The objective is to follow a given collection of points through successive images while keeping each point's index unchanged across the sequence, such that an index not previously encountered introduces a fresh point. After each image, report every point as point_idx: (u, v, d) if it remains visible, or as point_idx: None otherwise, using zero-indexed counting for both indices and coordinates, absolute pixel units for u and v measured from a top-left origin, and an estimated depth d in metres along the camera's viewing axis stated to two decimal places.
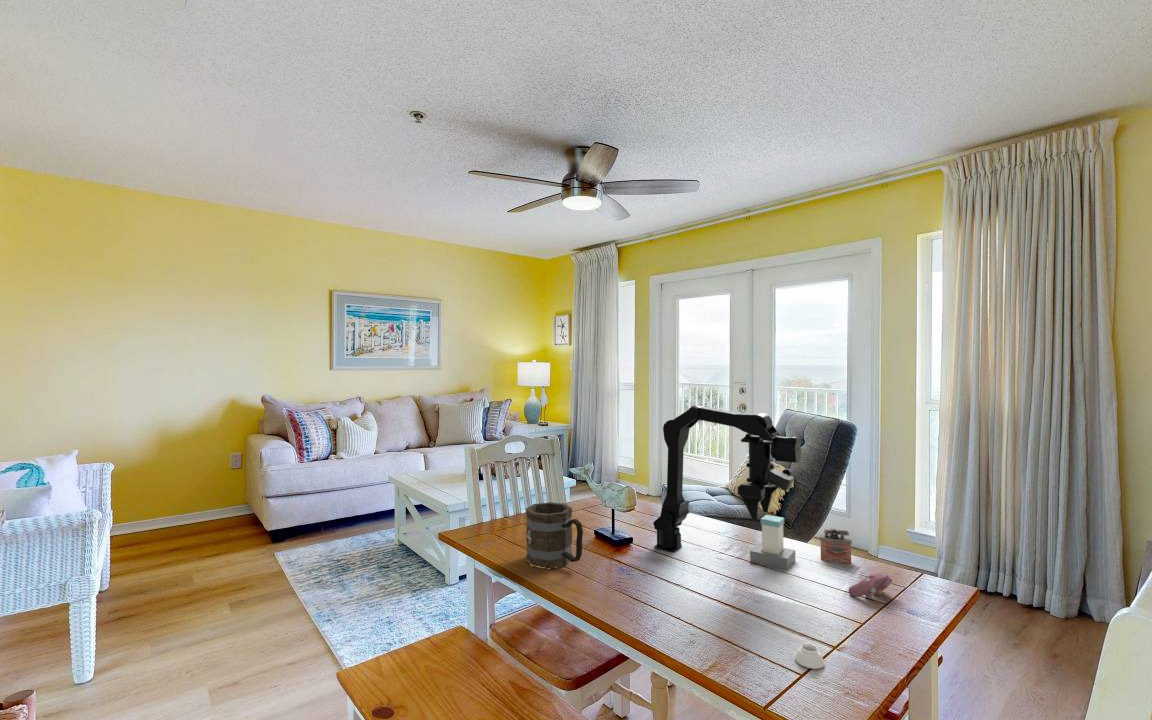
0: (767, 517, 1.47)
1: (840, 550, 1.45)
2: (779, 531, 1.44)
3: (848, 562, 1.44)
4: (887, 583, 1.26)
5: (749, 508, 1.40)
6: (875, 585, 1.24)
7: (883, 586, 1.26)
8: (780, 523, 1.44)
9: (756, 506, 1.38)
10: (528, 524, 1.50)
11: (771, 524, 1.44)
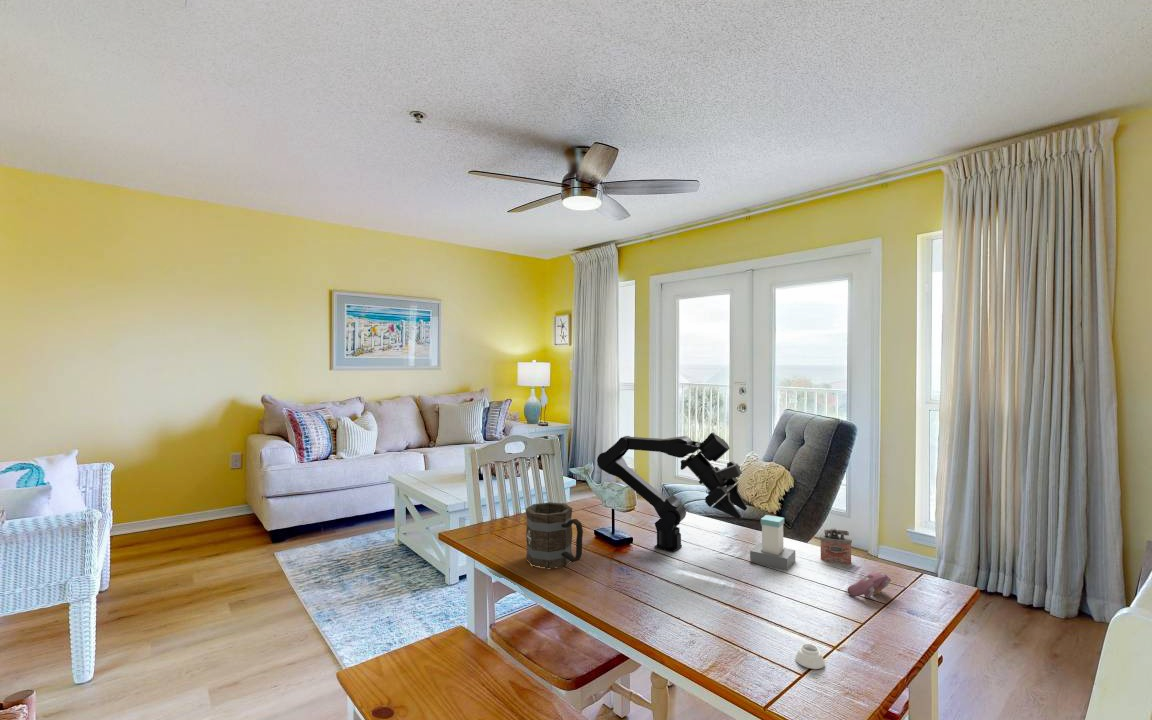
0: (767, 517, 1.47)
1: (840, 550, 1.45)
2: (779, 531, 1.44)
3: (848, 562, 1.44)
4: (886, 582, 1.26)
5: (728, 511, 1.46)
6: (874, 584, 1.24)
7: (882, 585, 1.26)
8: (780, 523, 1.44)
9: (730, 505, 1.46)
10: (528, 524, 1.50)
11: (771, 524, 1.44)
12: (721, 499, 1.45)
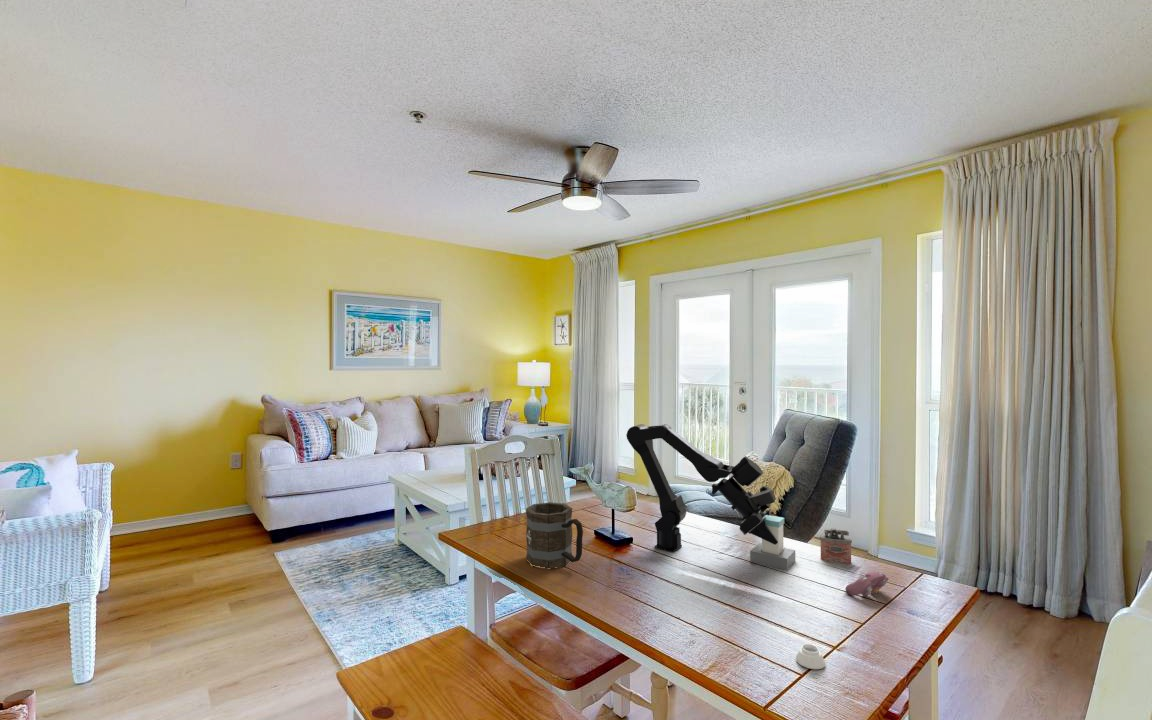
0: (767, 517, 1.47)
1: (840, 550, 1.45)
2: (779, 531, 1.44)
3: (848, 562, 1.44)
4: (883, 582, 1.27)
5: (764, 537, 1.44)
6: (871, 584, 1.25)
7: (880, 584, 1.27)
8: (780, 523, 1.44)
9: (767, 530, 1.43)
10: (528, 524, 1.50)
11: (771, 524, 1.44)
12: (758, 525, 1.42)
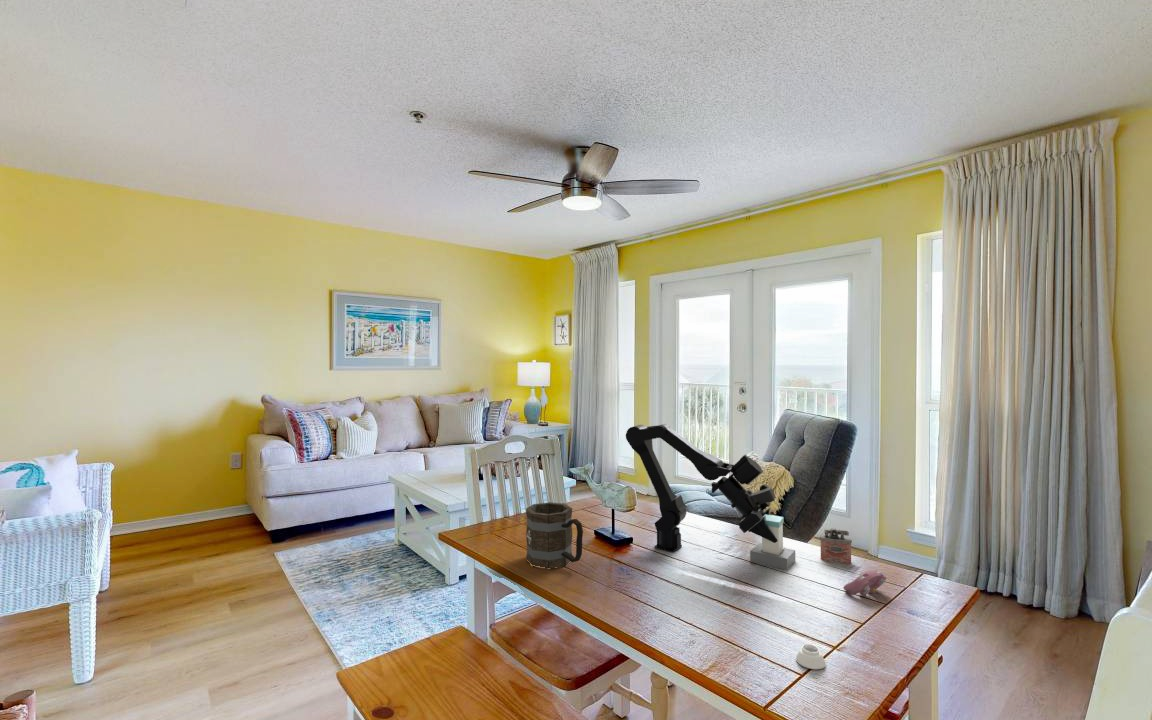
0: (767, 517, 1.47)
1: (840, 550, 1.45)
2: (779, 531, 1.43)
3: (848, 562, 1.44)
4: (881, 581, 1.27)
5: (764, 535, 1.44)
6: (869, 583, 1.25)
7: (877, 584, 1.27)
8: (780, 523, 1.44)
9: (766, 529, 1.43)
10: (528, 524, 1.50)
11: (771, 524, 1.44)
12: (757, 523, 1.42)
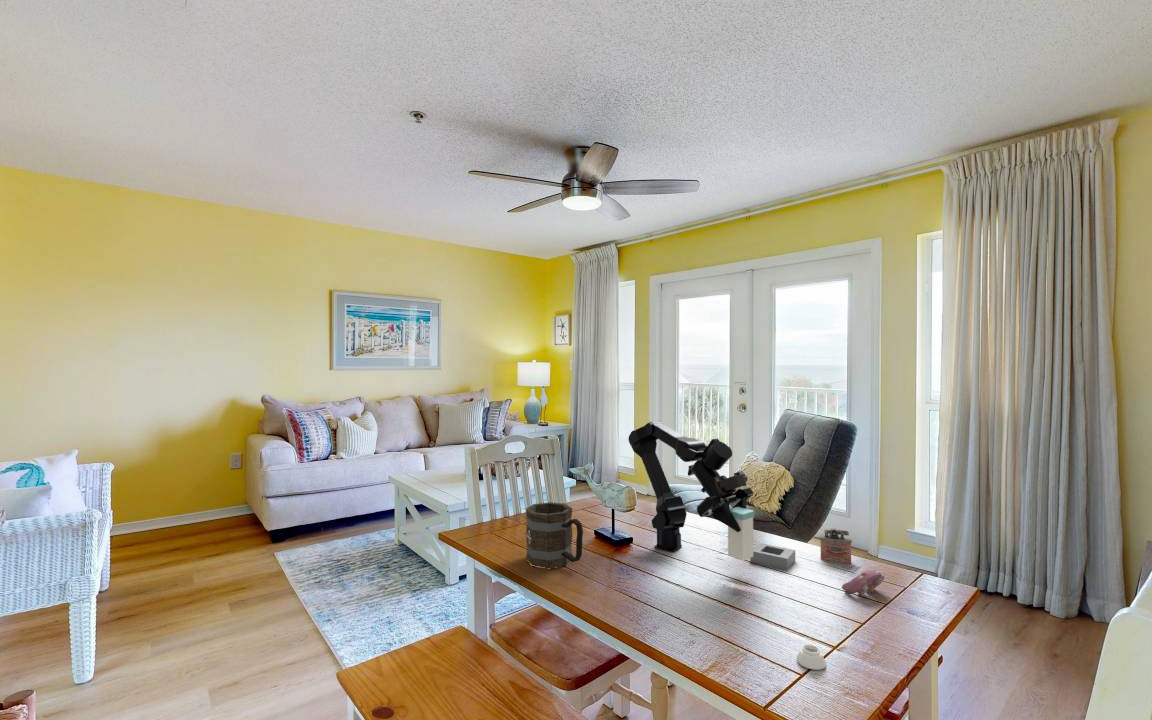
0: (736, 509, 1.38)
1: (840, 550, 1.45)
2: (743, 524, 1.34)
3: (848, 562, 1.44)
4: (879, 580, 1.28)
5: (727, 523, 1.36)
6: (867, 582, 1.25)
7: (875, 583, 1.28)
8: (745, 516, 1.34)
9: (728, 516, 1.35)
10: (528, 524, 1.50)
11: (736, 516, 1.35)
12: (717, 508, 1.36)
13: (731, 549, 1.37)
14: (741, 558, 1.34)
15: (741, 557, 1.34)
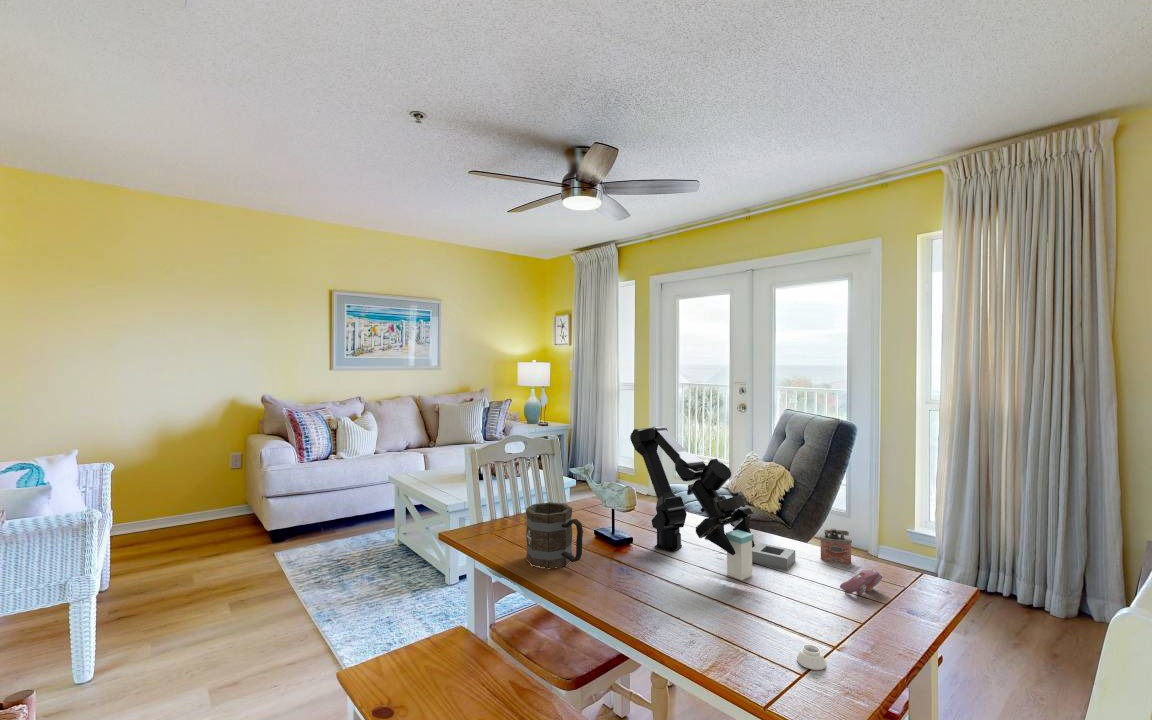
0: (735, 532, 1.38)
1: (840, 550, 1.45)
2: (742, 547, 1.34)
3: (848, 562, 1.44)
4: (877, 580, 1.28)
5: (721, 546, 1.35)
6: (866, 582, 1.26)
7: (874, 582, 1.28)
8: (744, 539, 1.34)
9: (723, 539, 1.34)
10: (528, 524, 1.50)
11: (734, 539, 1.35)
12: (711, 531, 1.35)
13: (730, 572, 1.37)
14: None
15: None
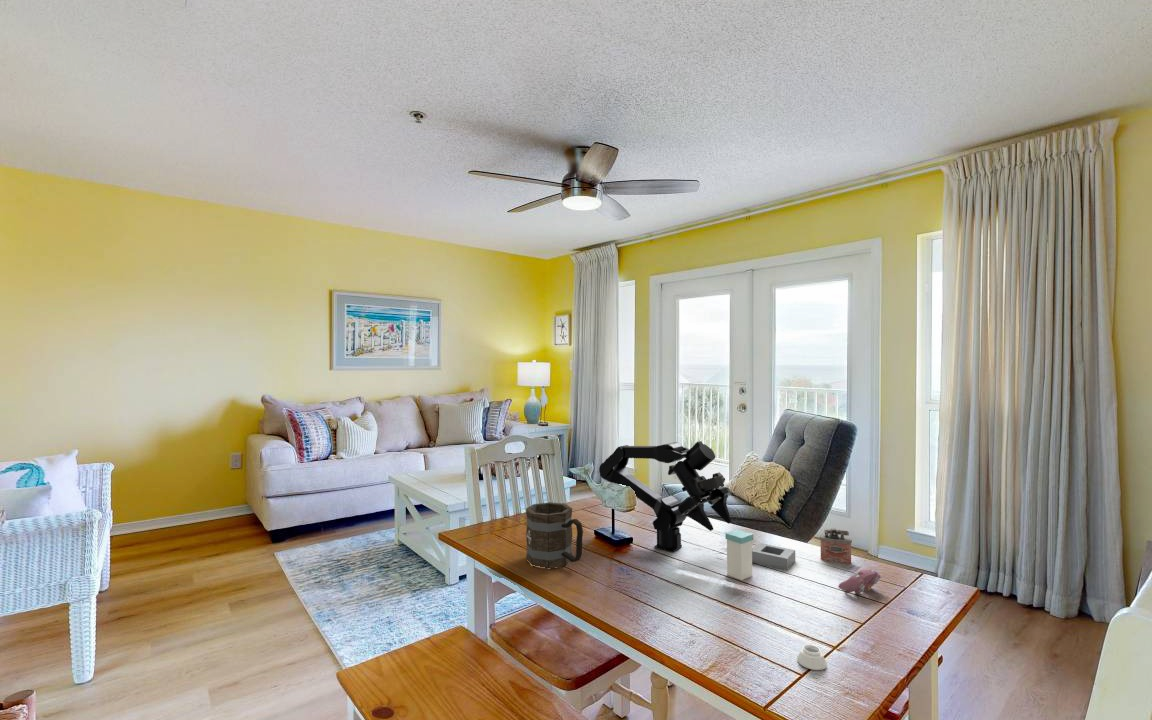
0: (735, 532, 1.38)
1: (840, 550, 1.45)
2: (742, 547, 1.34)
3: (848, 562, 1.44)
4: (876, 579, 1.28)
5: (700, 522, 1.46)
6: (864, 581, 1.26)
7: (872, 582, 1.28)
8: (744, 539, 1.34)
9: (702, 516, 1.45)
10: (528, 524, 1.50)
11: (734, 539, 1.35)
12: (692, 509, 1.45)
13: (730, 572, 1.37)
14: None
15: None
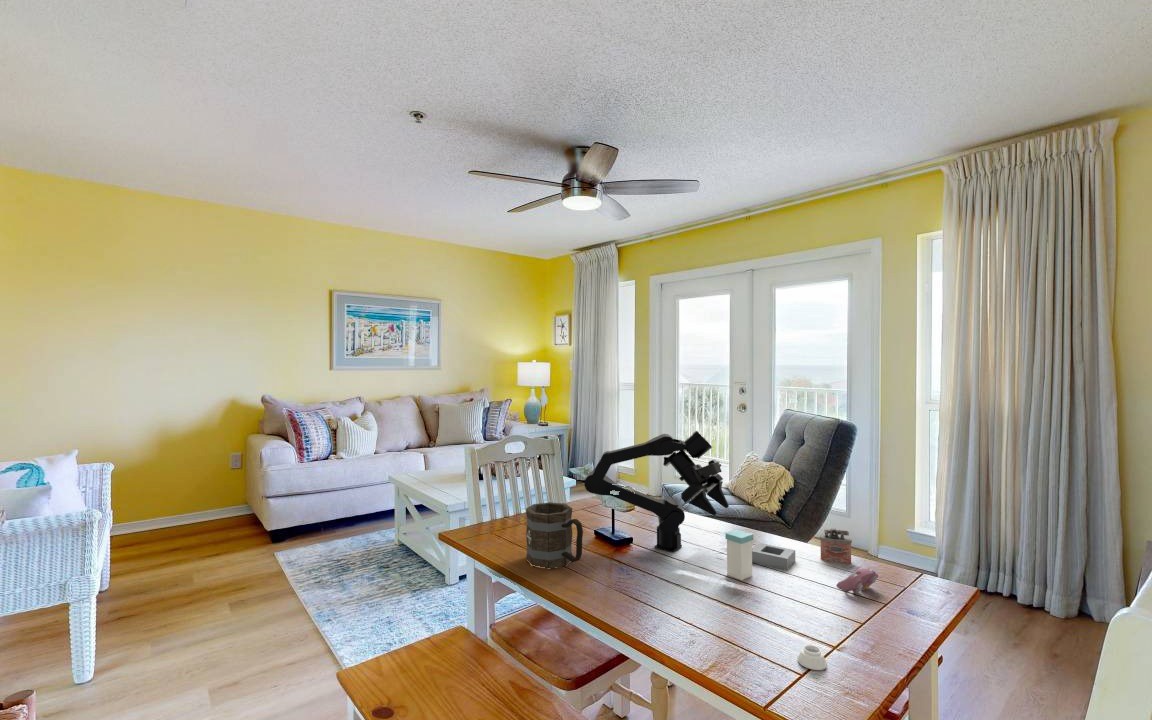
0: (735, 532, 1.38)
1: (840, 550, 1.45)
2: (742, 547, 1.34)
3: (848, 562, 1.44)
4: (873, 578, 1.29)
5: (704, 508, 1.49)
6: (862, 581, 1.26)
7: (870, 581, 1.29)
8: (744, 539, 1.34)
9: (706, 501, 1.49)
10: (528, 524, 1.50)
11: (734, 539, 1.35)
12: (696, 495, 1.48)
13: (730, 572, 1.37)
14: None
15: None
